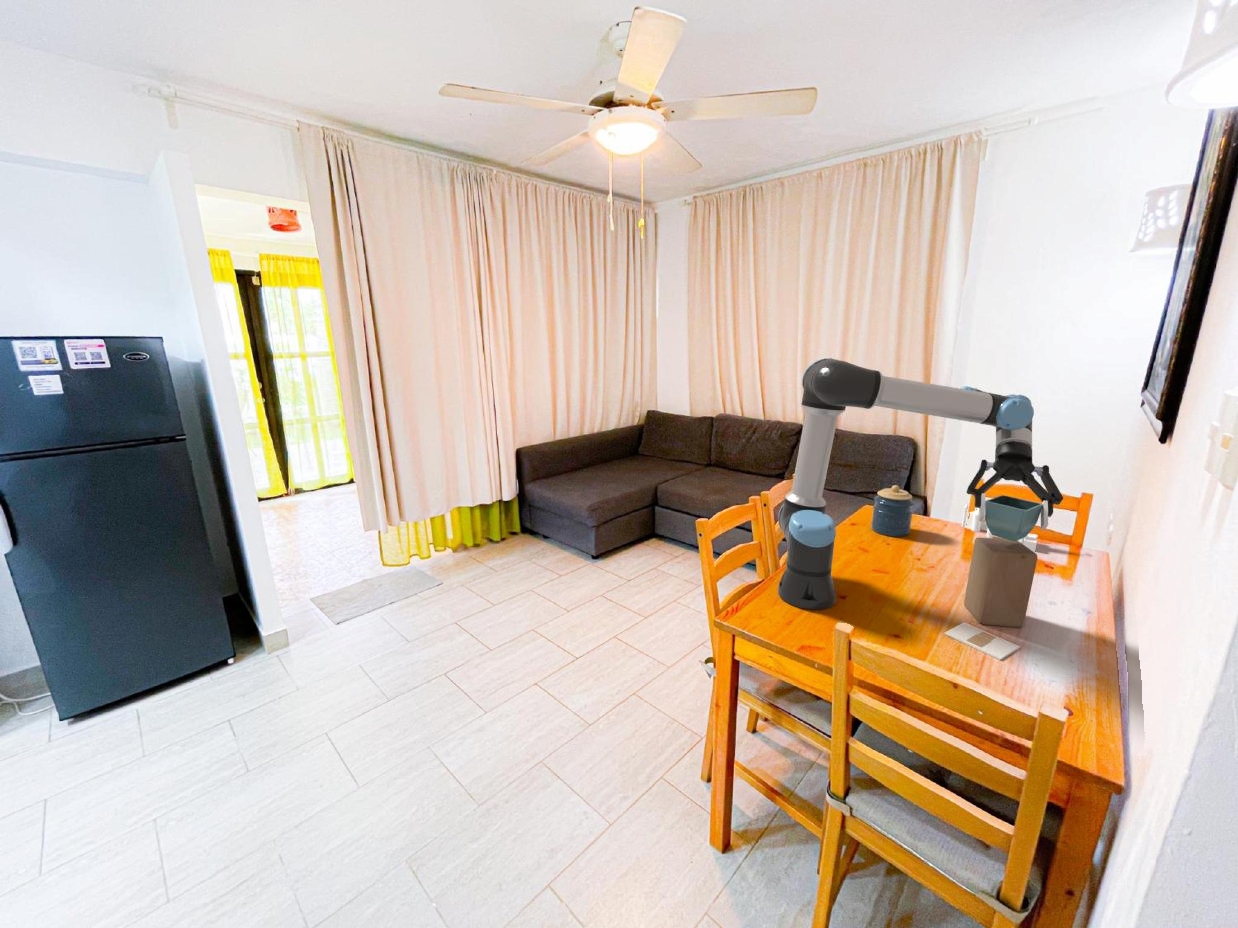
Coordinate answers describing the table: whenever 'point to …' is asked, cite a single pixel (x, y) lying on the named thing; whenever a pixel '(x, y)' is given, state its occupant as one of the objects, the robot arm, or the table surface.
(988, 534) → the toy castle
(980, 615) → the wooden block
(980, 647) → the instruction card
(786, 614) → the table surface
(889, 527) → the canister
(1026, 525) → the flower pot
